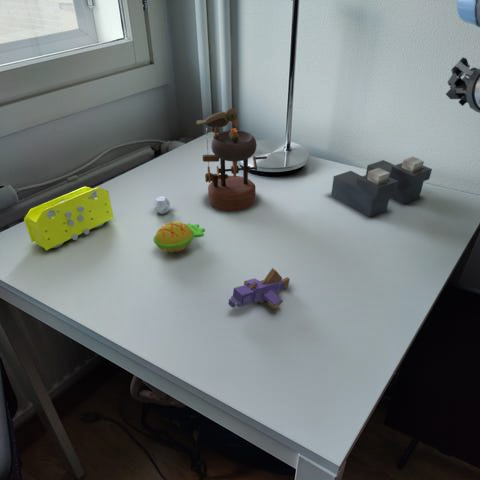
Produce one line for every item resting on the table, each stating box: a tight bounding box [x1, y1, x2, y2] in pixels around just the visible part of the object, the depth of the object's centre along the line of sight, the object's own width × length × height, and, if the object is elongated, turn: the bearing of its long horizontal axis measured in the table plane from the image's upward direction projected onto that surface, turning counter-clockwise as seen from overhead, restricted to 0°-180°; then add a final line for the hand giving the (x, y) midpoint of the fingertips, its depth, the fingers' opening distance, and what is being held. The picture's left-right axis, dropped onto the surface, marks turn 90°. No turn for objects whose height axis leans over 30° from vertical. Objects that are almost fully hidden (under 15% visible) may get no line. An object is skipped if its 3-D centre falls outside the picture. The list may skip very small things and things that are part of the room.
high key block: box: [330, 170, 398, 218], centre depth 99 cm, size 13×6×7 cm, turn 34°
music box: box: [195, 107, 268, 212], centre depth 98 cm, size 15×11×20 cm
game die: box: [152, 195, 171, 215], centre depth 99 cm, size 4×4×3 cm
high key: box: [367, 168, 390, 185], centre depth 94 cm, size 3×3×2 cm
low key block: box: [365, 159, 433, 205], centre depth 104 cm, size 13×6×7 cm, turn 34°
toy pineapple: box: [152, 221, 206, 253], centre depth 87 cm, size 7×10×5 cm
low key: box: [402, 156, 425, 173], centre depth 99 cm, size 3×3×2 cm
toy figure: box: [228, 267, 290, 310], centre depth 75 cm, size 12×8×5 cm
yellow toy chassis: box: [23, 186, 115, 251], centre depth 90 cm, size 16×6×8 cm, turn 140°
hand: (453, 91), depth 95 cm, fingers closed
